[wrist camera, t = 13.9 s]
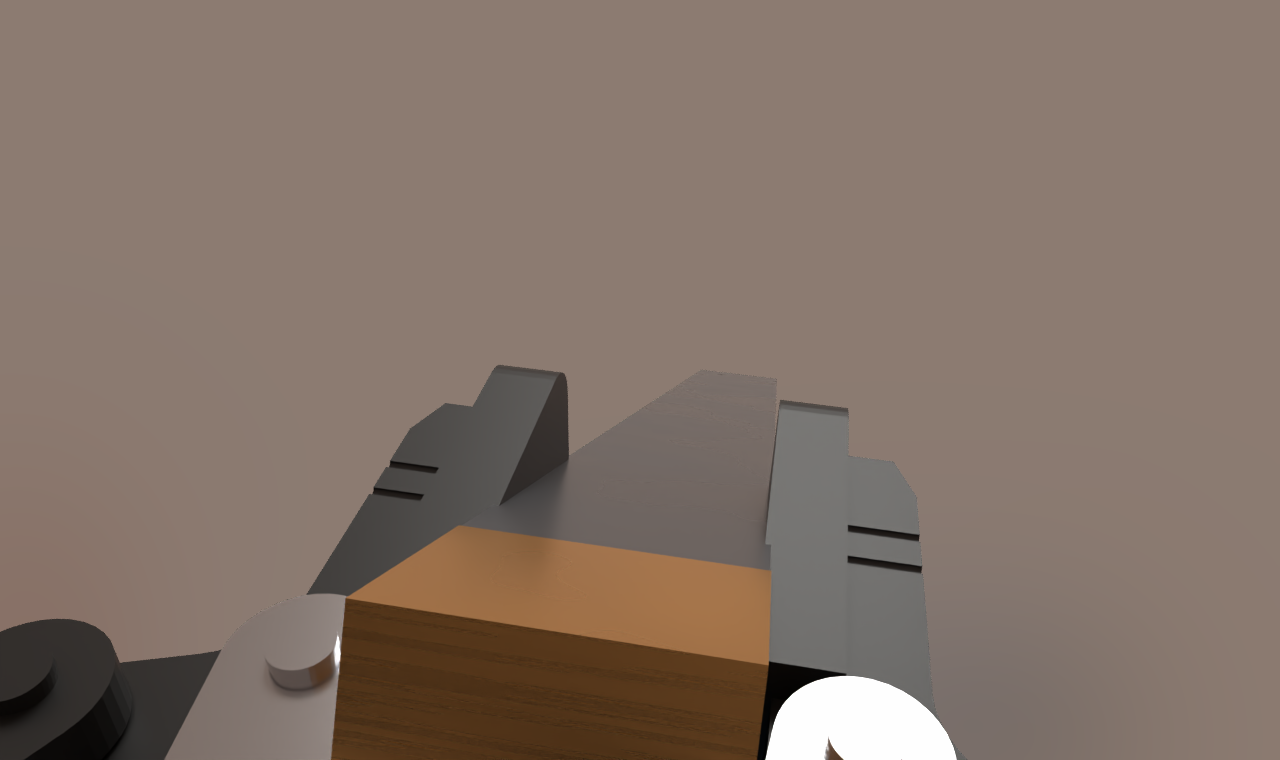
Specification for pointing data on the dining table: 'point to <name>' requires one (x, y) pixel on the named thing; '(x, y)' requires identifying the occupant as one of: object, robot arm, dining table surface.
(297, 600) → the robot arm
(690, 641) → the bar
